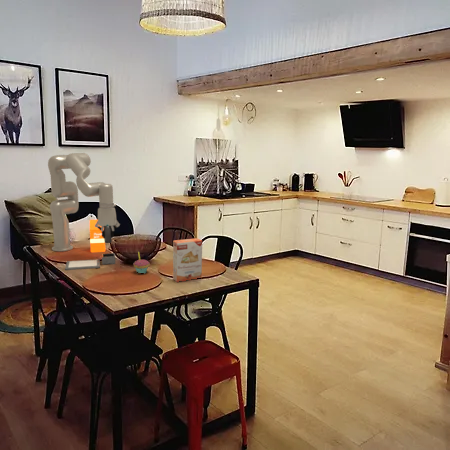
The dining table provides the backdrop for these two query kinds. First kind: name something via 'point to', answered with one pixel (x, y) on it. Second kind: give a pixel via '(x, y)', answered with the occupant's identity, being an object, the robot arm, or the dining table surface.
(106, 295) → the dining table surface
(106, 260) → the grey square block
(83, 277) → the dining table surface
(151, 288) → the dining table surface
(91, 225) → the orange juice
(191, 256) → the cracker box
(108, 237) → the marker
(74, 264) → the writing board
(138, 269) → the cupcake
